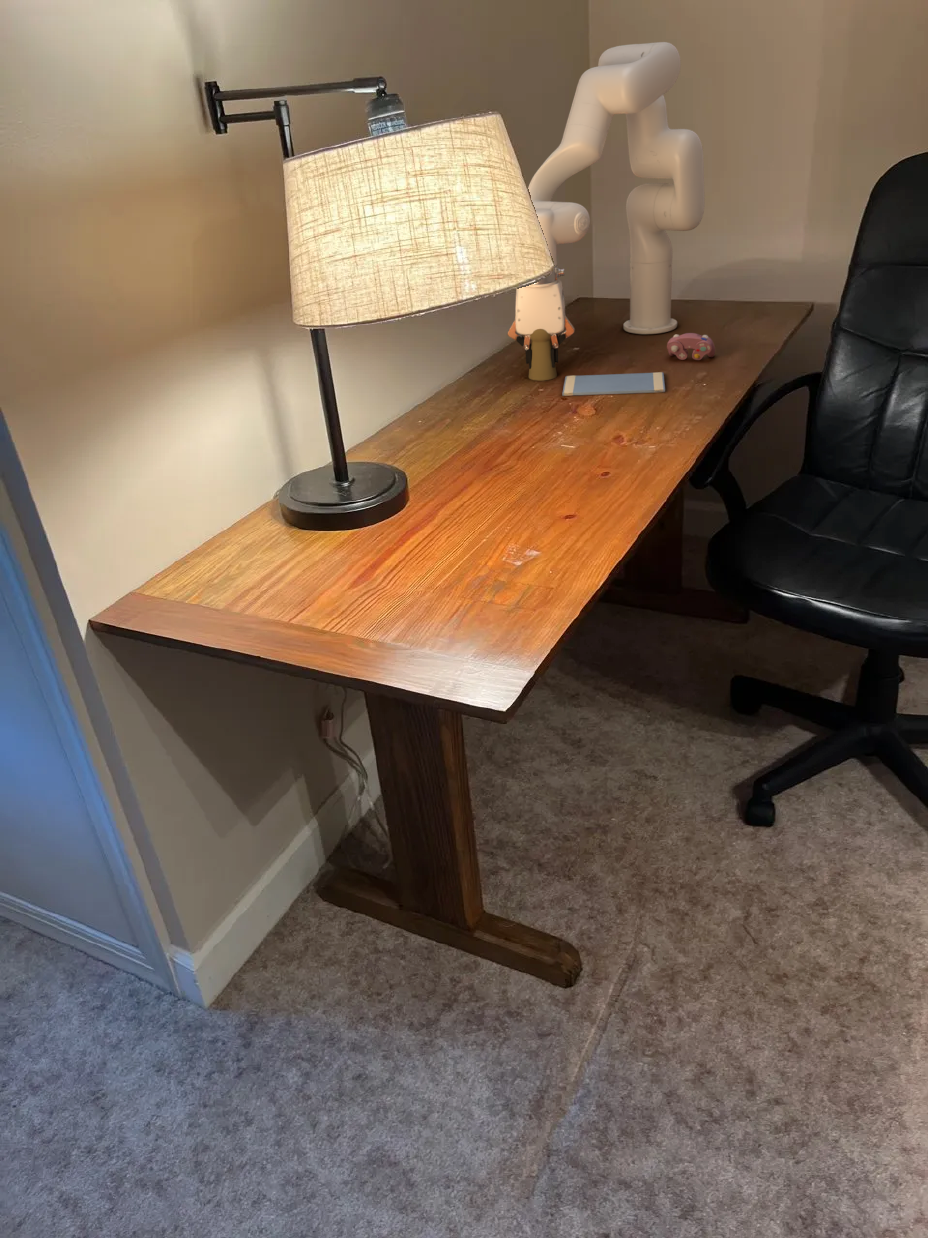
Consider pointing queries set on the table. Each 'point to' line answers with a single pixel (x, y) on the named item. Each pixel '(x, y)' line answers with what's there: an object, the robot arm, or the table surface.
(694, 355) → the video game controller
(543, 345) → the olive tall tapered piece
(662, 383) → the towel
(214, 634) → the table surface
